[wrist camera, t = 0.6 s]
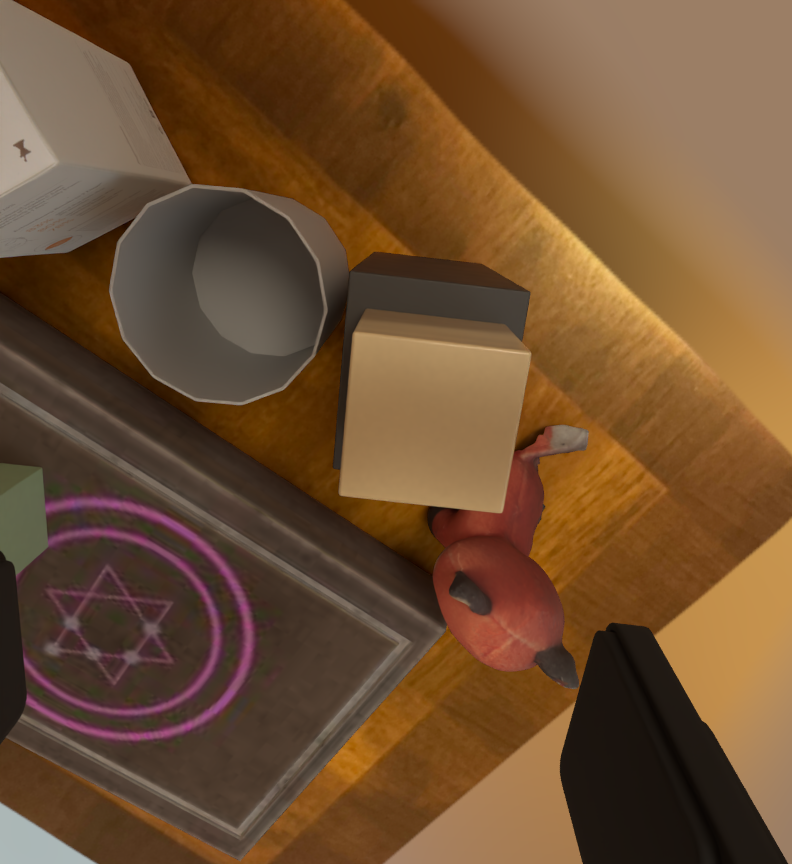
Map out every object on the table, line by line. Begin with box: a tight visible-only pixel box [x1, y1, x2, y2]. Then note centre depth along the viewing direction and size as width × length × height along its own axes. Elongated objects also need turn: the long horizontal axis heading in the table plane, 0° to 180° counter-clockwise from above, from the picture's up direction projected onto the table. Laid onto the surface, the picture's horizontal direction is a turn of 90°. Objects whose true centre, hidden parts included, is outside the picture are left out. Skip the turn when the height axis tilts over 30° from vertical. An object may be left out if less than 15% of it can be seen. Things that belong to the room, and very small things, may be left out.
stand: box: [333, 252, 530, 469], centre depth 28 cm, size 7×6×14 cm
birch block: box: [338, 309, 531, 513], centre depth 19 cm, size 5×5×5 cm
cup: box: [109, 184, 349, 405], centre depth 29 cm, size 8×8×10 cm
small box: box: [0, 0, 192, 258], centre depth 26 cm, size 8×6×13 cm
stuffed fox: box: [428, 425, 588, 689], centre depth 32 cm, size 8×11×12 cm
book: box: [0, 293, 447, 861], centre depth 37 cm, size 30×22×5 cm
